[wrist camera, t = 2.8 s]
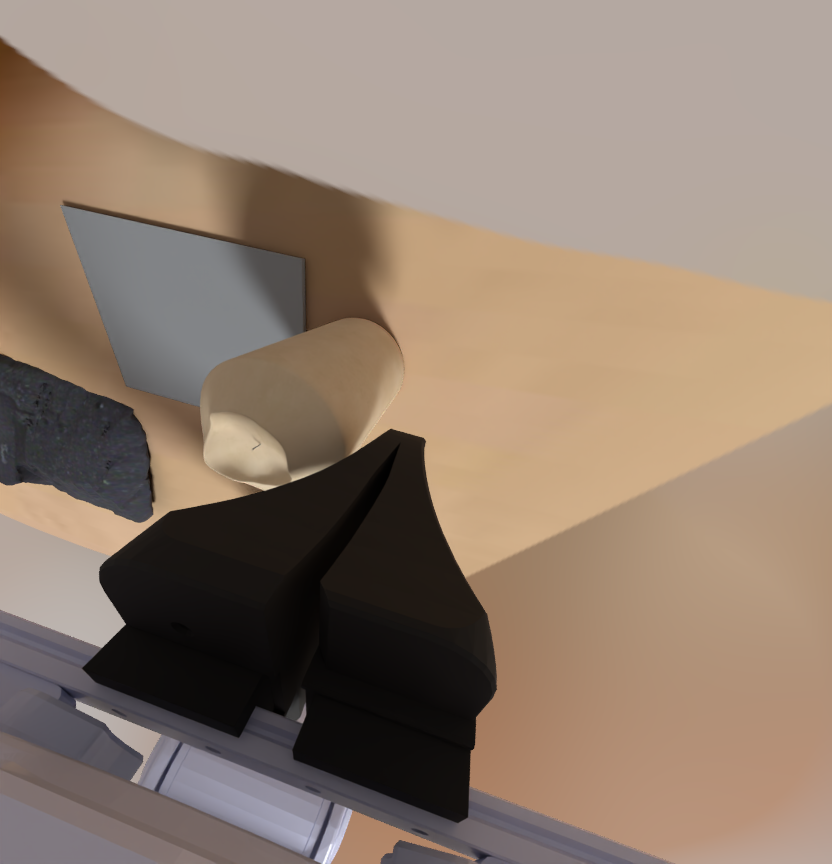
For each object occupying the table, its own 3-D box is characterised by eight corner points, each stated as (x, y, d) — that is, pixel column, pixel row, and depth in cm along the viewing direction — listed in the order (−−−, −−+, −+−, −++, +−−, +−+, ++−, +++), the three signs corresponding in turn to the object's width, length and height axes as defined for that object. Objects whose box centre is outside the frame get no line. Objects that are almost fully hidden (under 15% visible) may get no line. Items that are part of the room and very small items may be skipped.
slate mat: (304, 259, 15) (301, 258, 15) (307, 434, 21) (305, 436, 21) (66, 206, 17) (60, 205, 16) (130, 385, 22) (126, 386, 22)
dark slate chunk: (178, 524, 32) (133, 562, 28) (-4, 453, 32) (-74, 480, 28) (151, 403, 24) (81, 432, 20) (-91, 312, 24) (-206, 321, 20)
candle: (337, 412, 20) (221, 525, 11) (304, 328, 17) (123, 389, 9) (415, 400, 18) (350, 522, 9) (390, 305, 16) (273, 353, 7)
